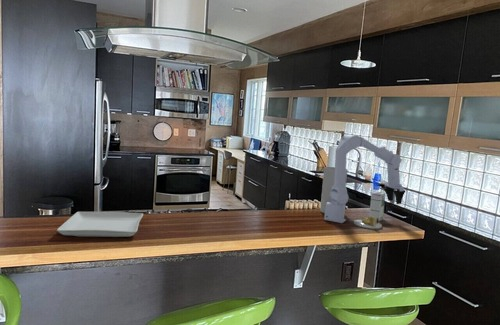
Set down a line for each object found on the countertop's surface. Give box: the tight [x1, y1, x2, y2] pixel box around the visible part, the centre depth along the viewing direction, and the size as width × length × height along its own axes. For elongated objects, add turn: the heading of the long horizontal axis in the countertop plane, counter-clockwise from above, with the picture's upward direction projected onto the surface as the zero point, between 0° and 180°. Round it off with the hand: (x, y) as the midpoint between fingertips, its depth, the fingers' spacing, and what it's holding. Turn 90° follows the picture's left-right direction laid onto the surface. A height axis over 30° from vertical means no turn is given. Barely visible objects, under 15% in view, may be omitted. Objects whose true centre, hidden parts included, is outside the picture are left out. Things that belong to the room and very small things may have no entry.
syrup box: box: [368, 191, 386, 222], centre depth 188 cm, size 6×6×14 cm
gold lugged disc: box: [361, 215, 377, 226], centre depth 172 cm, size 8×8×4 cm
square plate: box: [56, 211, 144, 238], centre depth 139 cm, size 27×27×4 cm
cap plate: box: [353, 218, 383, 230], centre depth 173 cm, size 13×13×4 cm
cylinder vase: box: [319, 166, 348, 214], centre depth 195 cm, size 12×12×25 cm
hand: (394, 202), depth 184 cm, fingers open, 7 cm apart
